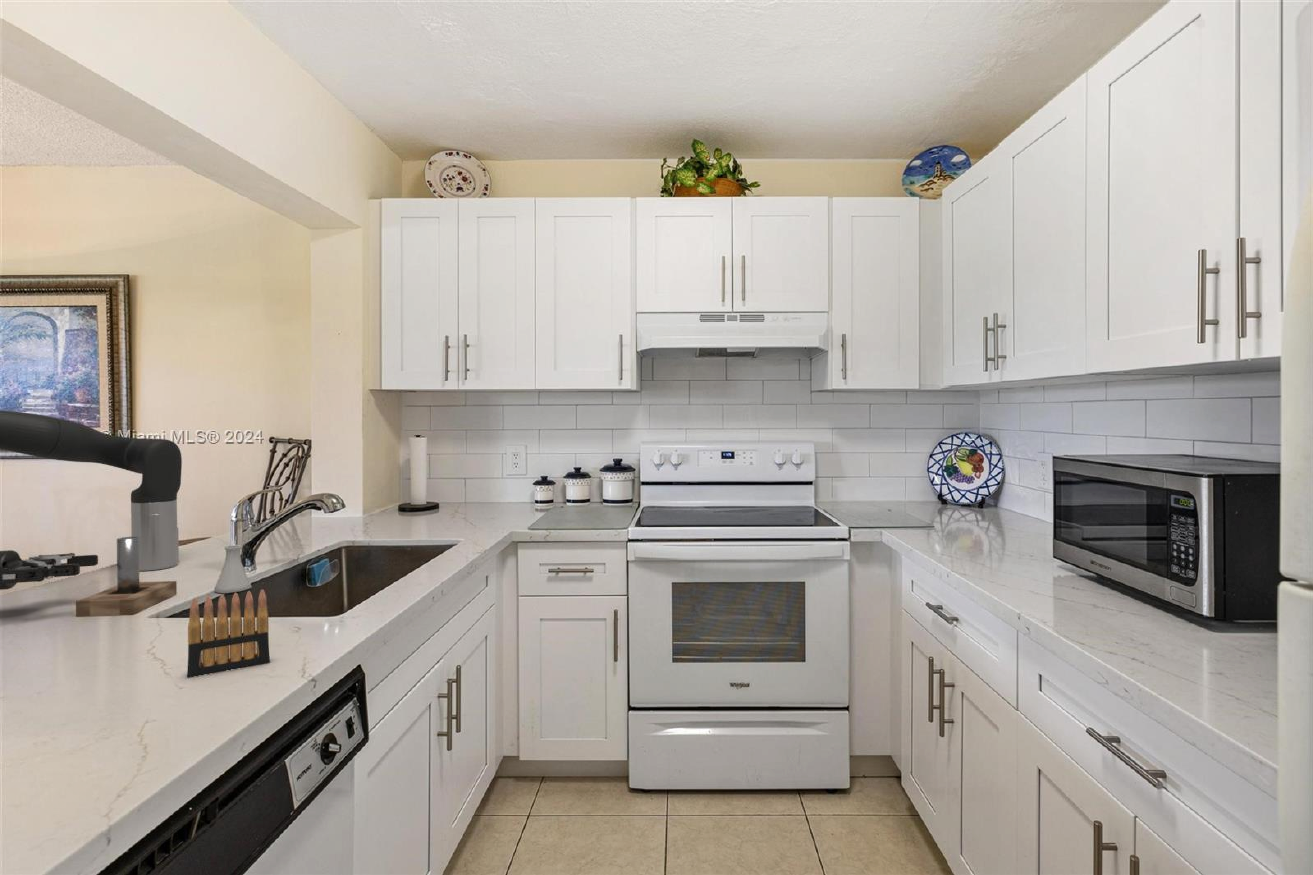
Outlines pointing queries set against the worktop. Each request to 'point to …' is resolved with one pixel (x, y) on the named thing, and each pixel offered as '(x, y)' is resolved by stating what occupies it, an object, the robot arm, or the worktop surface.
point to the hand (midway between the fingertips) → (88, 564)
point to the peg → (128, 565)
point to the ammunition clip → (227, 636)
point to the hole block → (126, 600)
